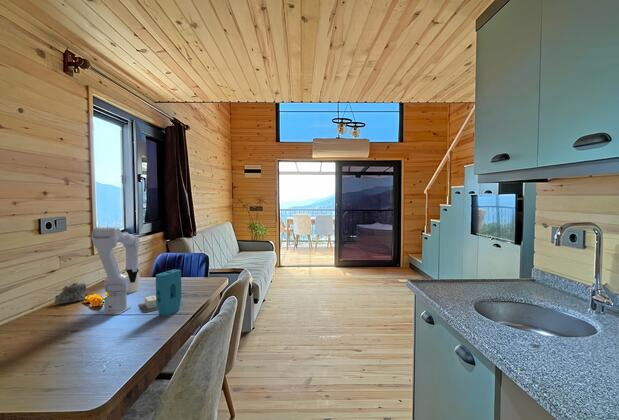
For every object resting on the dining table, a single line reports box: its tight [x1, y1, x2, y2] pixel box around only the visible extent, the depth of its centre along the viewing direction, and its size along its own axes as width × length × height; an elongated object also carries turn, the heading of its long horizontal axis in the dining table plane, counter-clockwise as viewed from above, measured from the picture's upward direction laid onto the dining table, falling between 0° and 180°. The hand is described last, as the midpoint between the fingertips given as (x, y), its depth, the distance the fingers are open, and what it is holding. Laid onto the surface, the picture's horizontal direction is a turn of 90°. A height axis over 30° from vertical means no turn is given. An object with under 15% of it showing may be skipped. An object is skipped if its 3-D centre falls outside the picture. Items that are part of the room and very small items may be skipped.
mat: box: [138, 302, 158, 314], centre depth 152 cm, size 14×10×1 cm
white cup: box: [124, 272, 140, 294], centre depth 178 cm, size 8×8×10 cm
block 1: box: [144, 294, 157, 309], centre depth 152 cm, size 4×5×8 cm
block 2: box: [155, 268, 182, 317], centre depth 144 cm, size 12×5×20 cm, turn 160°
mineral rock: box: [54, 282, 88, 304], centre depth 160 cm, size 13×11×10 cm
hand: (132, 282), depth 162 cm, fingers closed
